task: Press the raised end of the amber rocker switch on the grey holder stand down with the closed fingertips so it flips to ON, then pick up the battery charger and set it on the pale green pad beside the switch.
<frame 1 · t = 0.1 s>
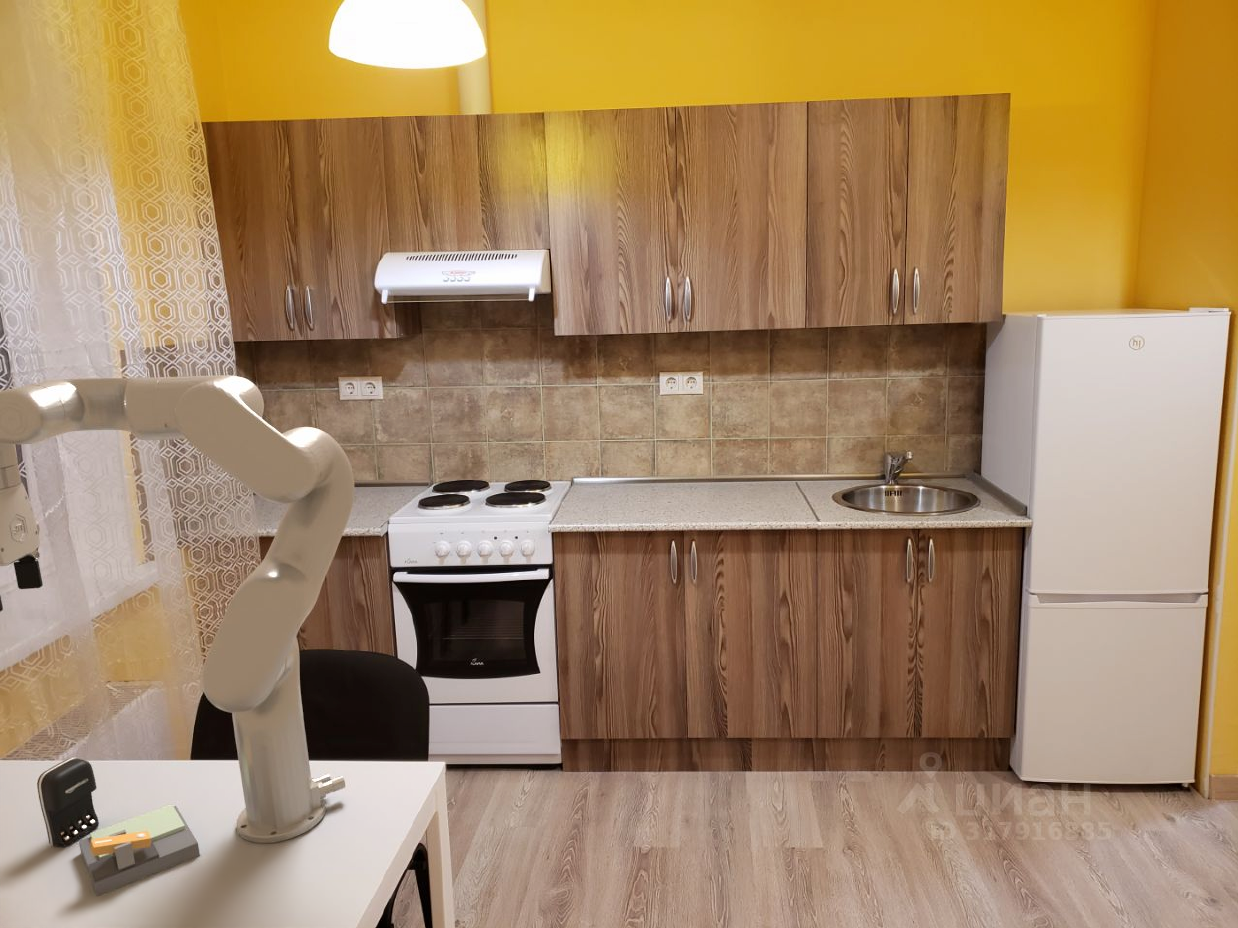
hand: (11, 599, 130), 37 cm above the table, tool pointing down, fingers open, 9 cm apart
grey holder stand: (140, 854, 133), on the table
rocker: (120, 842, 127), point 5 cm above the table, hinge at -14.0°
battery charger: (78, 837, 138), on the table
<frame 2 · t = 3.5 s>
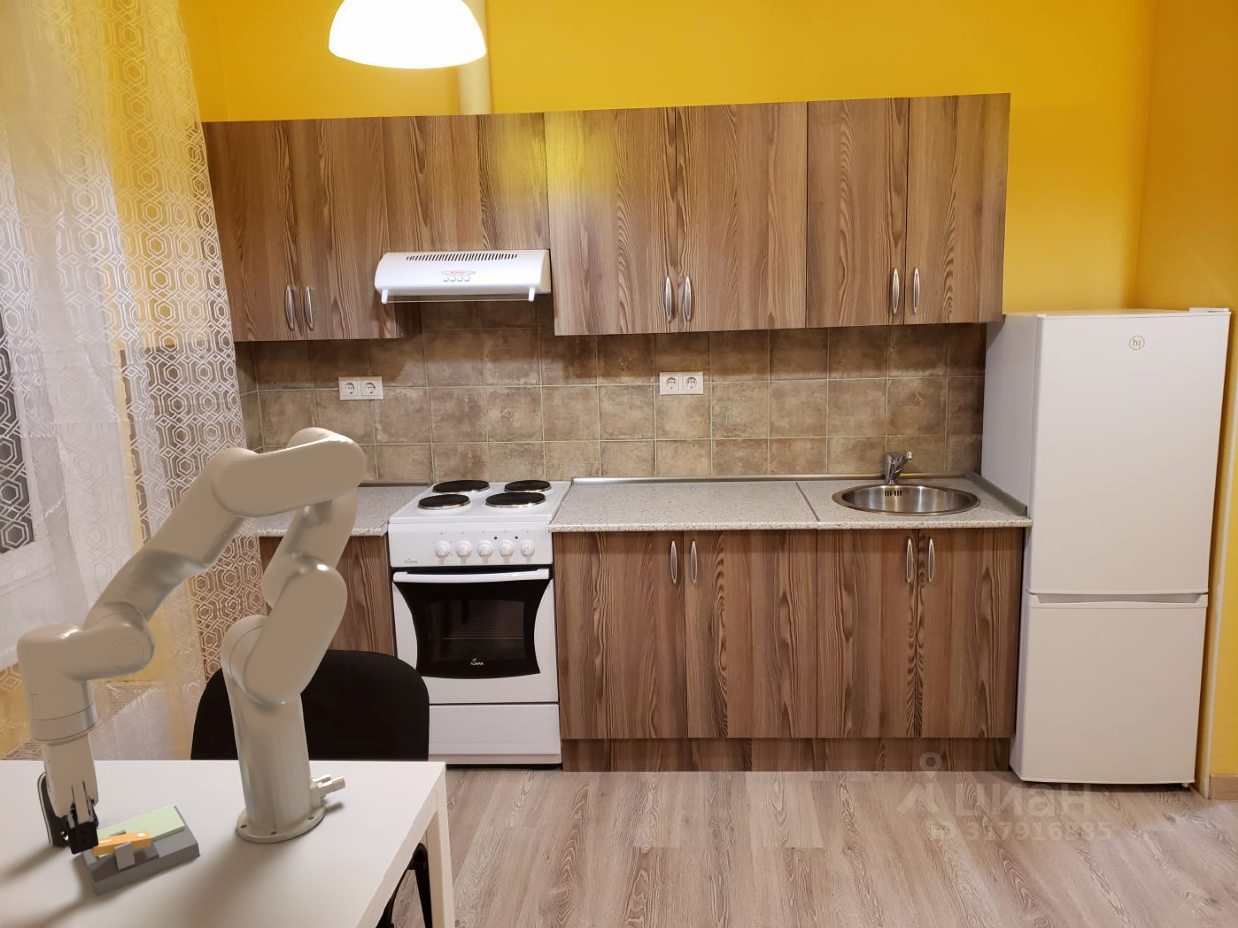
hand: (84, 847, 124), 6 cm above the table, tool pointing down, fingers closed
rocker: (120, 842, 127), point 5 cm above the table, hinge at -13.3°, touching gripper
everything else where it was.
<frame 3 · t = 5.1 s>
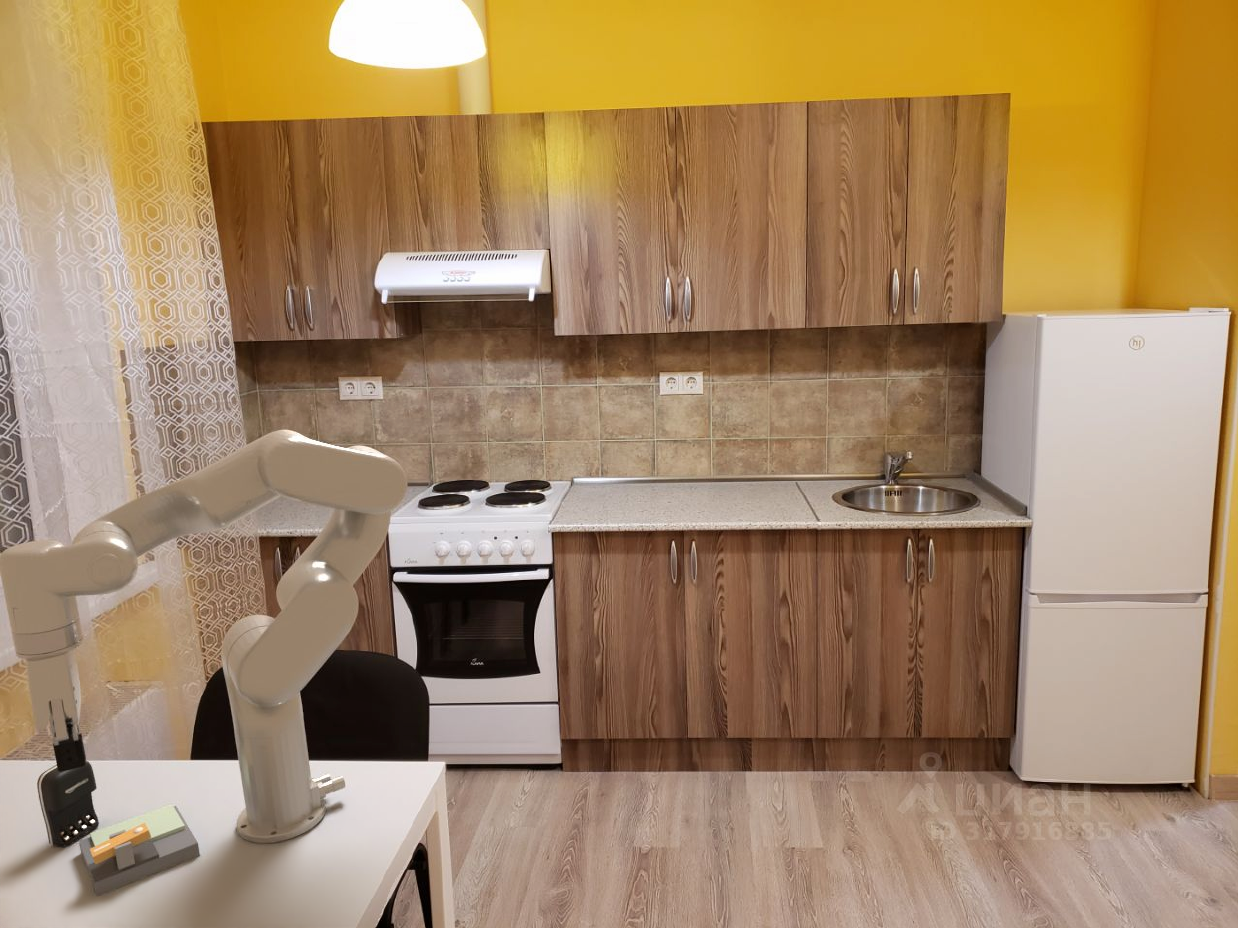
hand: (72, 766, 124), 17 cm above the table, tool pointing down, fingers closed
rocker: (120, 842, 127), point 5 cm above the table, hinge at 7.2°
everything else where it was.
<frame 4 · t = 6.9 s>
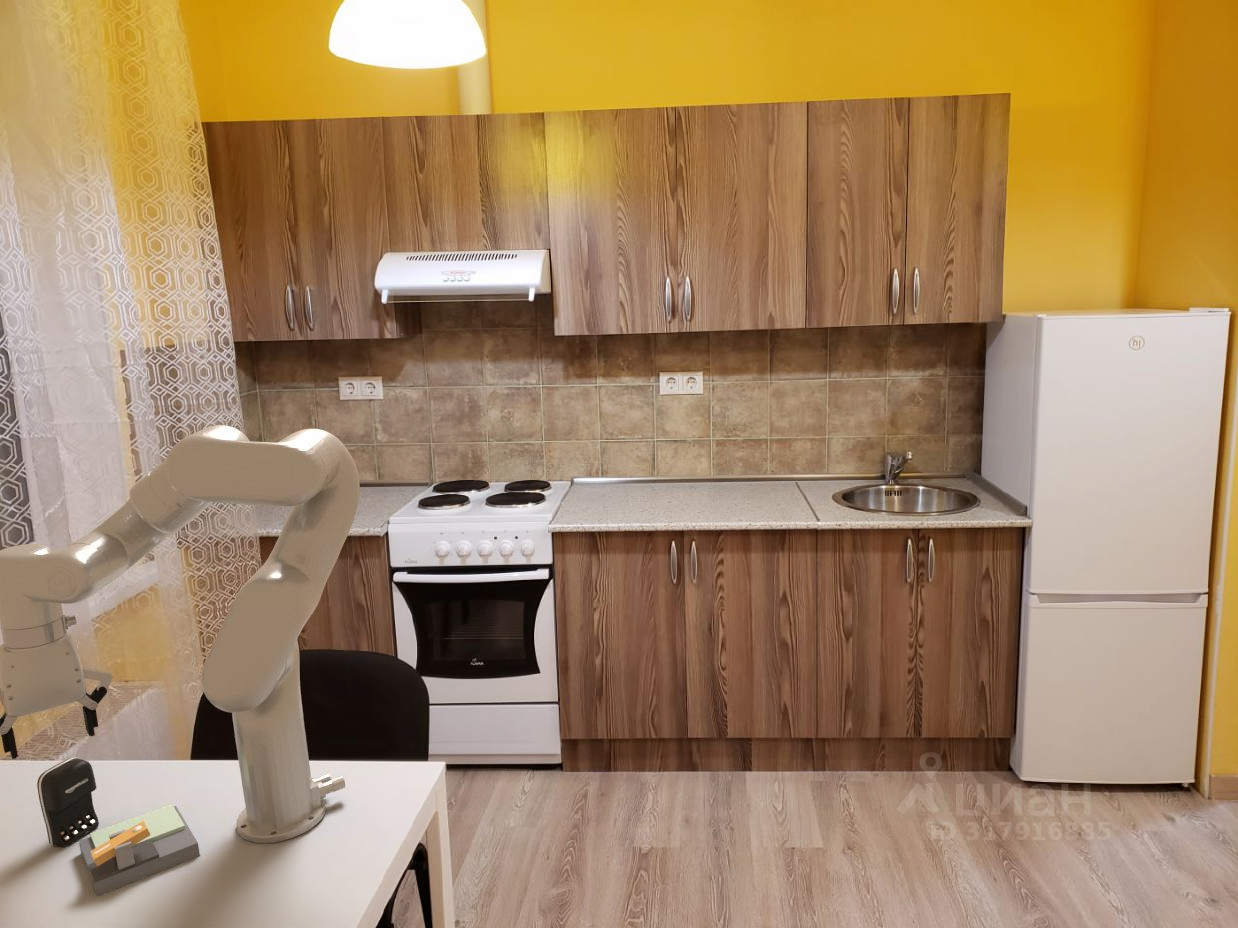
hand: (53, 743, 135), 15 cm above the table, tool pointing down, fingers open, 9 cm apart
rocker: (120, 842, 127), point 5 cm above the table, hinge at 13.2°
everything else where it was.
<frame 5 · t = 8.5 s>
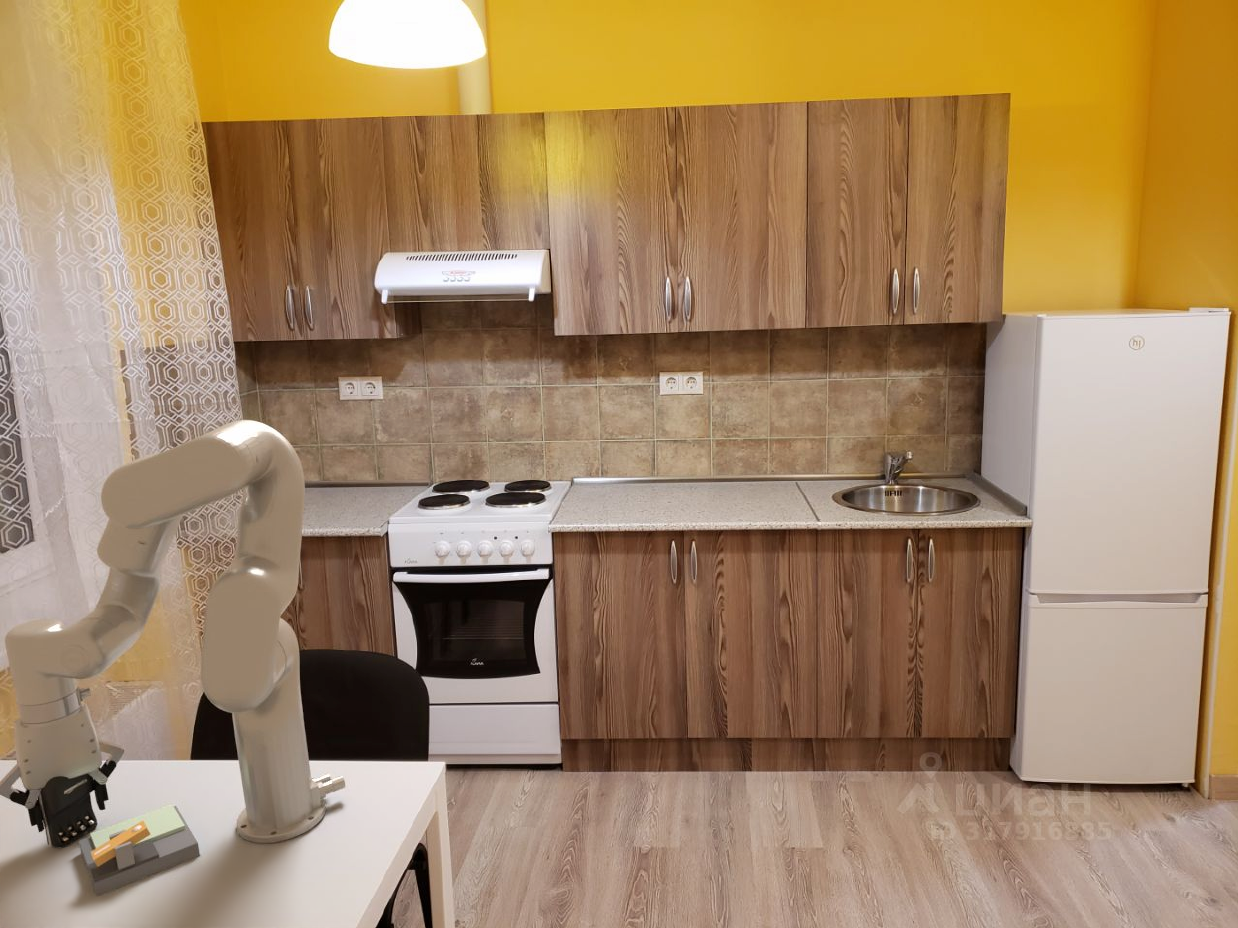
hand: (71, 815, 137), 3 cm above the table, tool pointing down, fingers closed on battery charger, 7 cm apart
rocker: (120, 842, 127), point 5 cm above the table, hinge at 14.7°
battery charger: (76, 837, 138), on the table, touching gripper
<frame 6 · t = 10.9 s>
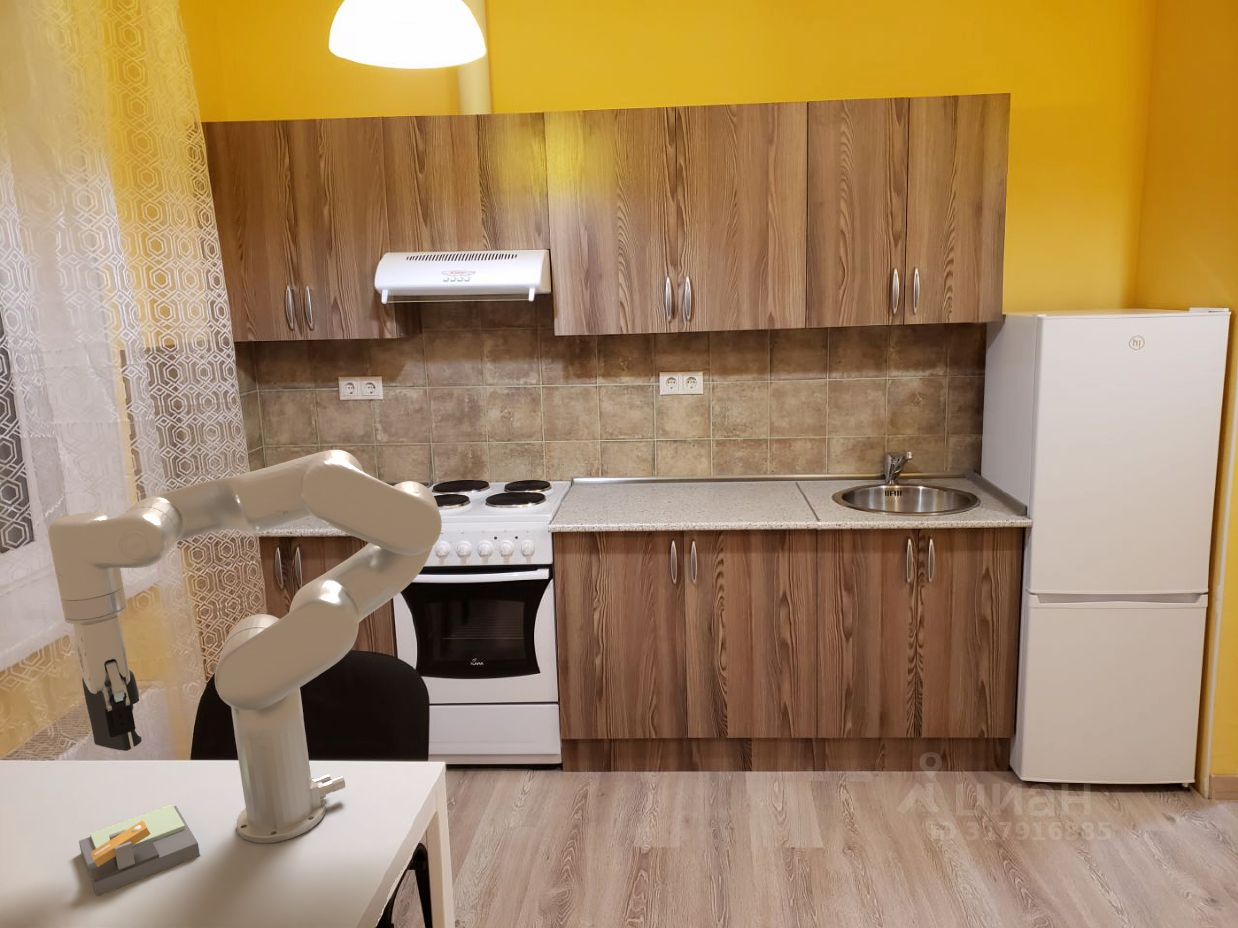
hand: (116, 722, 131), 19 cm above the table, tool pointing down, fingers closed on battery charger, 7 cm apart
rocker: (120, 842, 127), point 5 cm above the table, hinge at 15.3°
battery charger: (122, 744, 132), point 16 cm above the table, touching gripper
when the fingers open (7 cm above the table, at t = 13.7 s): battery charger drops 1 cm, resting on grey holder stand.
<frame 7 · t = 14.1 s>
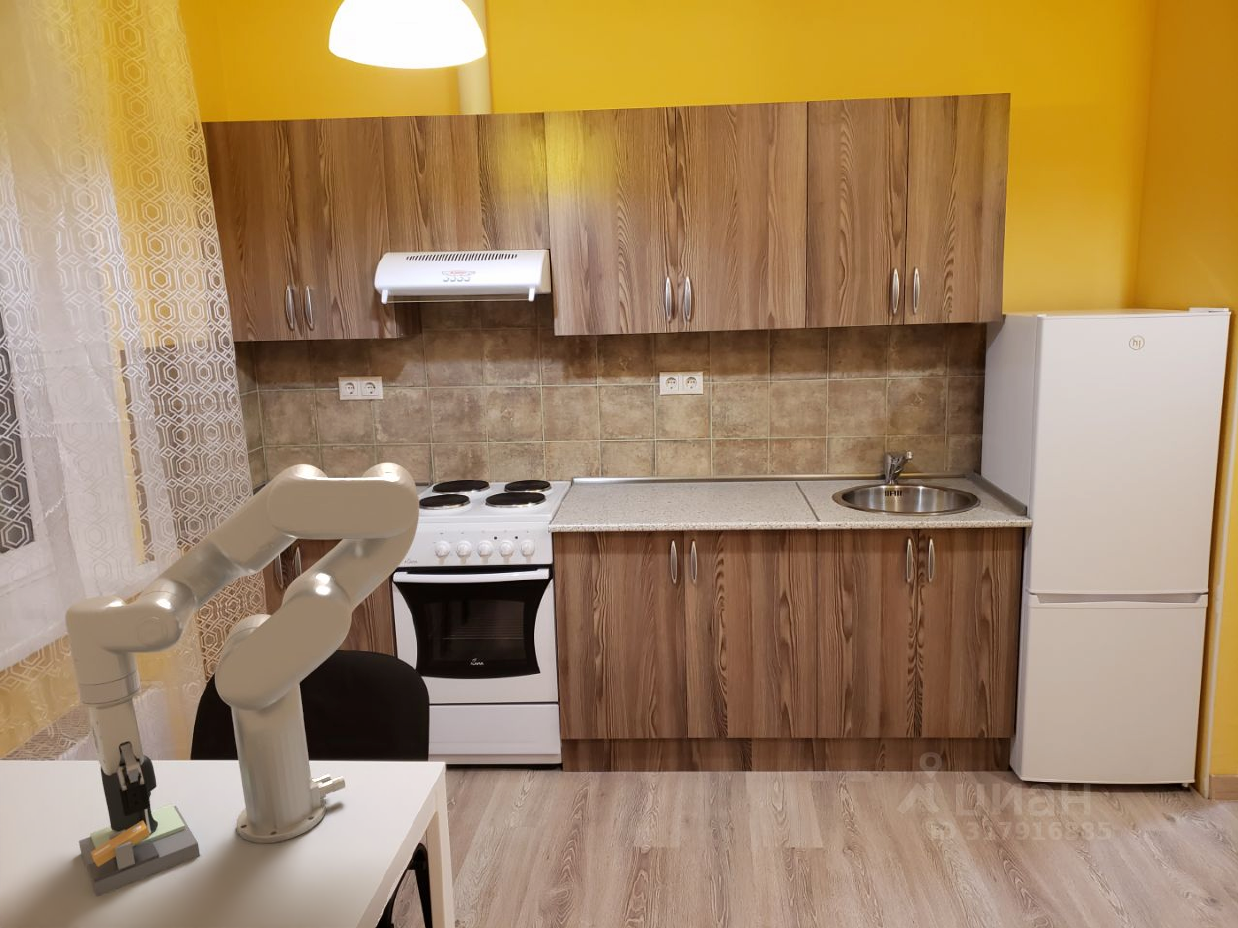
hand: (129, 796, 133), 8 cm above the table, tool pointing down, fingers open, 9 cm apart
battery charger: (138, 828, 135), point 2 cm above the table, touching grey holder stand
everything else where it was.
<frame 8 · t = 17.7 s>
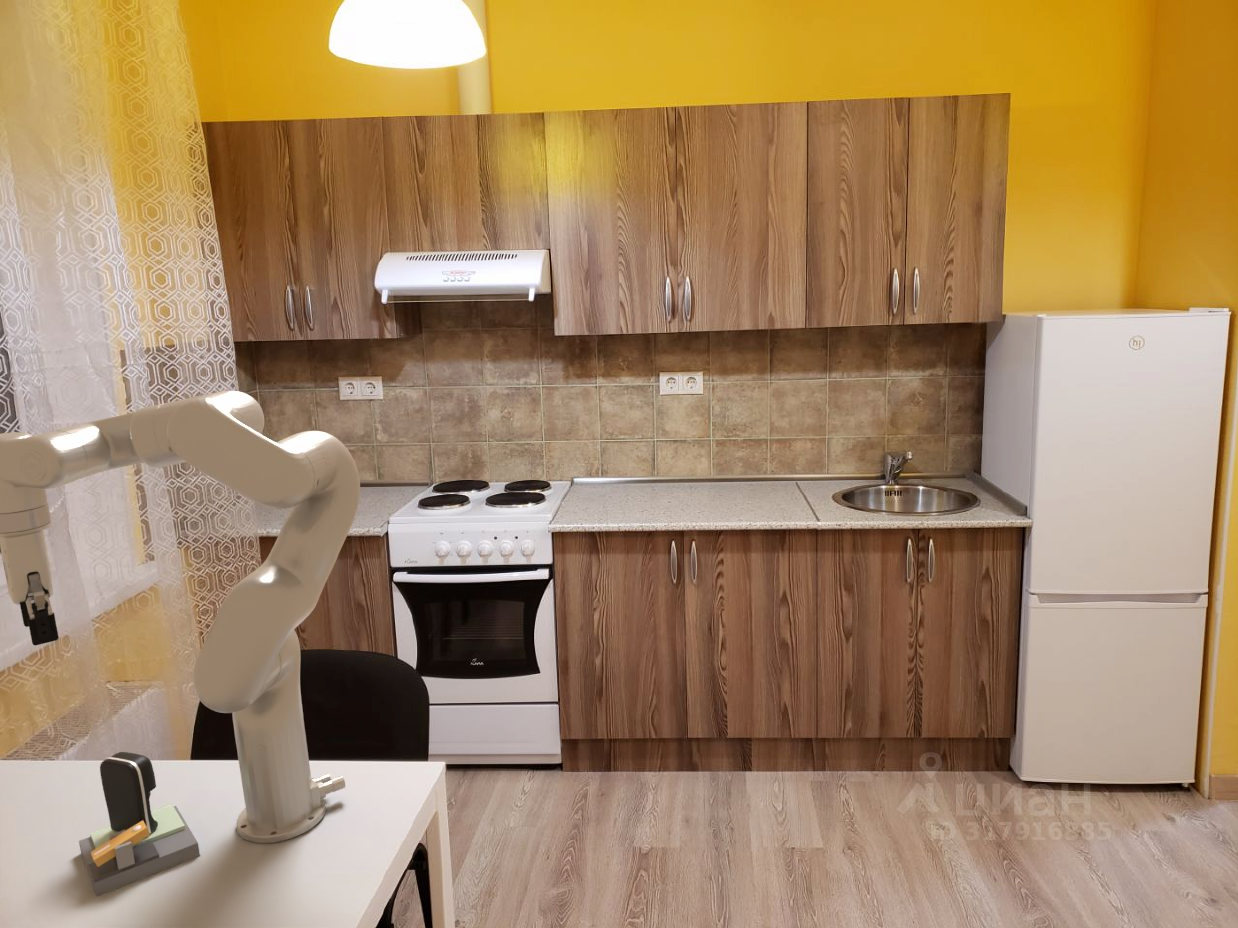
hand: (41, 632, 136), 30 cm above the table, tool pointing down, fingers open, 9 cm apart
nothing on the table moved.
at the end: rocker at +15° (first picture: -14°); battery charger inside the target area on the grey holder stand (0.4 cm from its centre), point 2.4 cm above the grey holder stand's base; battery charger tilted 0° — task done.
